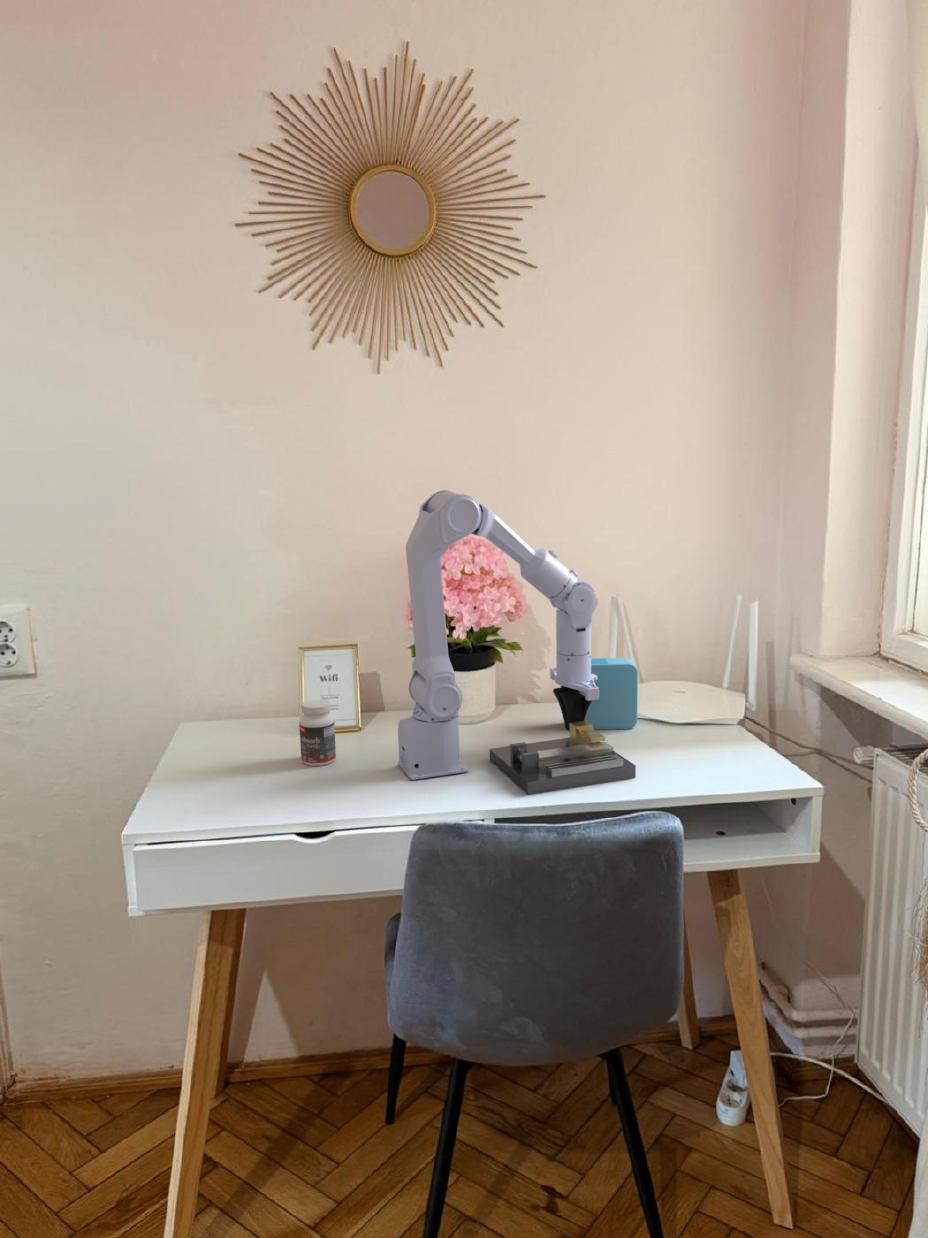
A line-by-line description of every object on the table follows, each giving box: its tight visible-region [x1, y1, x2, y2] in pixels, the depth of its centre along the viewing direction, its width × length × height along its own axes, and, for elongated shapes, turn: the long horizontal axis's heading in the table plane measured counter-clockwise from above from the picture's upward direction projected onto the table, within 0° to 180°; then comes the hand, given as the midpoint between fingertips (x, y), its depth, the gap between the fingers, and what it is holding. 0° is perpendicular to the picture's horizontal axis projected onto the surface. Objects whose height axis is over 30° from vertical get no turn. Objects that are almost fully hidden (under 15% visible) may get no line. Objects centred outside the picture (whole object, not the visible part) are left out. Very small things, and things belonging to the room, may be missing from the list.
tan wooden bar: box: [517, 741, 614, 762], centre depth 157 cm, size 15×3×1 cm, turn 109°
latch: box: [569, 721, 606, 746], centre depth 163 cm, size 3×7×3 cm, turn 19°
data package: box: [584, 657, 639, 731], centre depth 179 cm, size 12×4×12 cm, turn 89°
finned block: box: [489, 737, 637, 796], centre depth 159 cm, size 18×16×5 cm
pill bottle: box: [298, 699, 337, 767], centre depth 165 cm, size 6×6×10 cm
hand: (573, 730), depth 168 cm, fingers closed
